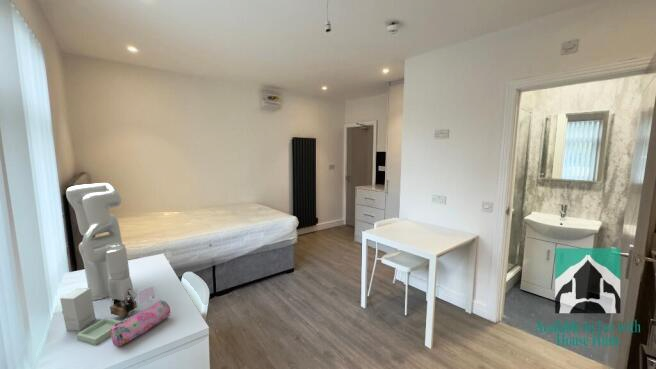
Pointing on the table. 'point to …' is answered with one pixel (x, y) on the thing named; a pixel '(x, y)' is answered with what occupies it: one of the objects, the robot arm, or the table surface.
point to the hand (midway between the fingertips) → (124, 309)
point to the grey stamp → (123, 306)
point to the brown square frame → (121, 309)
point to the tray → (97, 331)
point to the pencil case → (139, 323)
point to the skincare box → (78, 308)
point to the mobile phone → (146, 295)
